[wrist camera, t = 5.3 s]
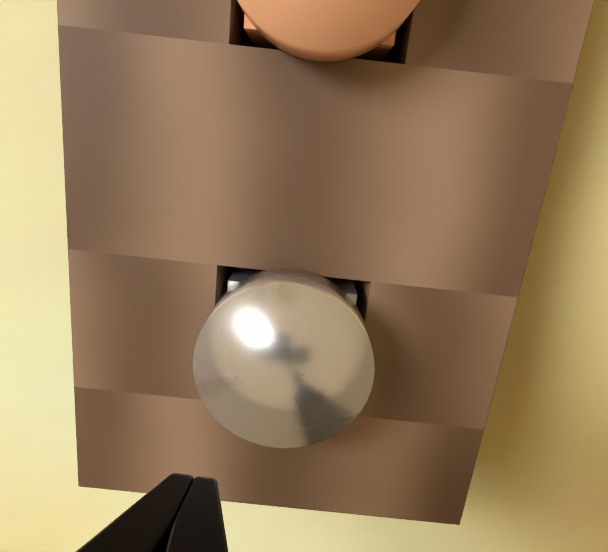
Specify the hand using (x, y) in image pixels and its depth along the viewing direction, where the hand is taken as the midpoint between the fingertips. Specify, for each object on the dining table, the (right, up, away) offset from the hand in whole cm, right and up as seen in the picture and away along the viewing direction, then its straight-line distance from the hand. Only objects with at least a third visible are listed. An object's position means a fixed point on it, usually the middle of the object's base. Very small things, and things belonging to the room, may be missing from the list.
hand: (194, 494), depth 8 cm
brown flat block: (+2, +8, +9) cm, 13 cm away
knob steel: (+2, +3, +10) cm, 10 cm away
